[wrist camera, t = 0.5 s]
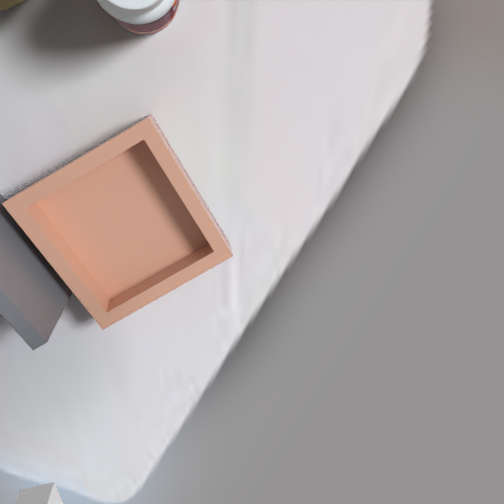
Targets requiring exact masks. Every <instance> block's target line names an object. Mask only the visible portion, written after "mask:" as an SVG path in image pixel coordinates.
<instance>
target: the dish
mask: <svg viewBox="0 0 504 504" xmlns="http://www.w3.org/2000/svg"><path fill="white" fill-rule="evenodd" d="M2 204H3V206H4V207H5V208H6V209H7V211H8V212H9V213H10V214H11V216H12V217H13V218H14V219H15V221H16V222H17V223H18V224H19V226H20V227H21V228H22V229H23V231H24V232H25V233H26V234H27V236H28V237H29V238H30V239H31V241H32V242H33V243H34V244H35V246H36V247H37V248H38V249H39V251H40V252H41V253H42V254H43V256H44V257H45V258H46V259H47V261H48V262H49V263H50V264H51V266H52V267H53V268H54V269H55V271H56V272H57V273H58V274H59V276H60V277H61V278H62V279H63V281H64V282H65V283H66V284H67V286H68V287H69V288H70V289H71V291H72V292H73V293H74V294H75V296H76V297H77V298H78V299H79V301H80V302H81V303H82V304H83V306H84V307H85V308H86V309H87V311H88V312H89V313H90V314H91V316H92V317H93V318H94V319H95V321H96V322H97V323H98V324H99V326H100V327H101V328H102V329H105V328H107V327H108V326H110V325H112V324H114V323H115V322H117V321H119V320H121V319H122V318H124V317H126V316H128V315H130V314H131V313H133V312H135V311H137V310H138V309H140V308H142V307H144V306H145V305H147V304H149V303H151V302H152V301H154V300H156V299H158V298H160V297H161V296H163V295H165V294H167V293H168V292H170V291H172V290H174V289H175V288H177V287H179V286H181V285H183V284H184V283H186V282H188V281H190V280H191V279H193V278H195V277H197V276H198V275H200V274H202V273H204V272H206V271H207V270H209V269H211V268H213V267H214V266H216V265H218V264H220V263H221V262H223V261H225V260H227V259H229V258H230V257H232V256H233V254H232V251H231V247H230V244H229V242H228V240H227V238H226V237H225V235H224V233H223V232H222V230H221V228H220V227H219V225H218V223H217V222H216V220H215V218H214V217H213V215H212V214H211V212H210V210H209V209H208V207H207V205H206V204H205V202H204V200H203V199H202V197H201V195H200V194H199V192H198V190H197V189H196V187H195V185H194V184H193V182H192V181H191V179H190V177H189V176H188V174H187V172H186V171H185V169H184V167H183V166H182V164H181V162H180V161H179V159H178V157H177V156H176V154H175V152H174V151H173V149H172V148H171V146H170V144H169V143H168V141H167V139H166V138H165V136H164V134H163V133H162V131H161V129H160V128H159V126H158V124H157V123H156V121H155V119H154V118H153V116H152V115H149V116H147V117H146V118H144V119H142V120H141V121H139V122H137V123H135V124H134V125H132V126H130V127H129V128H127V129H125V130H124V131H122V132H120V133H118V134H117V135H115V136H113V137H112V138H110V139H108V140H107V141H105V142H103V143H101V144H100V145H98V146H96V147H95V148H93V149H91V150H89V151H88V152H86V153H84V154H83V155H81V156H79V157H78V158H76V159H74V160H72V161H71V162H69V163H67V164H66V165H64V166H62V167H61V168H59V169H57V170H55V171H54V172H52V173H50V174H49V175H47V176H45V177H43V178H42V179H40V180H38V181H37V182H35V183H33V184H32V185H30V186H28V187H26V188H25V189H23V190H21V191H20V192H18V193H16V194H15V195H13V196H12V197H11V198H9V199H8V200H6V201H5V202H3V203H2Z"/></svg>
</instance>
